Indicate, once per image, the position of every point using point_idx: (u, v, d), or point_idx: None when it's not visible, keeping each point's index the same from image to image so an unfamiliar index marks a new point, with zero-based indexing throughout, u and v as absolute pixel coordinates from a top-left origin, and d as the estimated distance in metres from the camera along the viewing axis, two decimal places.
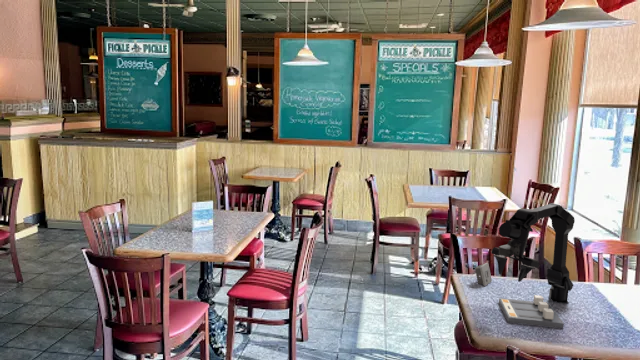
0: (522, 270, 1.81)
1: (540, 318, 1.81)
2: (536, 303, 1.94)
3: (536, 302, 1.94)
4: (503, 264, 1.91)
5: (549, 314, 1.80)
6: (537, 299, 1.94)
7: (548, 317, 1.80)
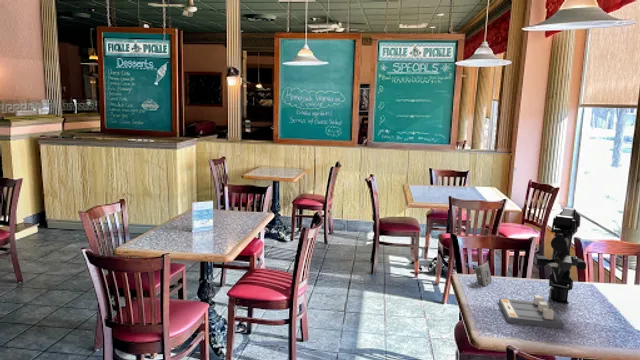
0: (563, 272, 1.90)
1: (540, 318, 1.81)
2: (536, 303, 1.94)
3: (536, 302, 1.94)
4: None
5: (549, 314, 1.80)
6: (537, 299, 1.94)
7: (548, 317, 1.80)
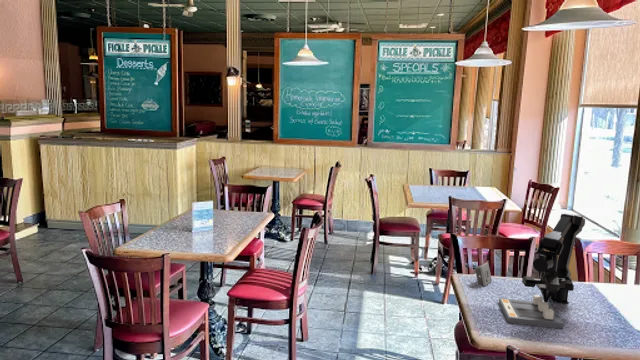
0: (550, 293, 1.92)
1: (540, 318, 1.81)
2: (535, 303, 1.94)
3: (535, 302, 1.94)
4: None
5: (549, 314, 1.80)
6: (536, 299, 1.94)
7: (548, 317, 1.80)
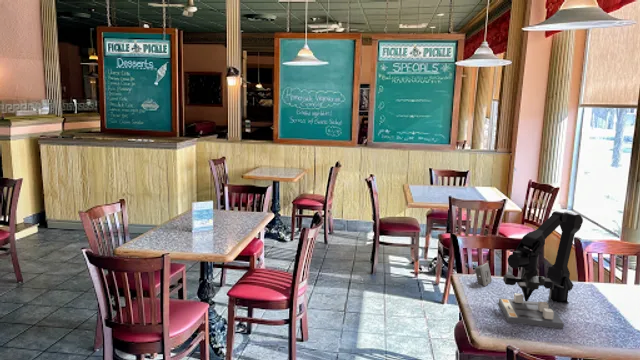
0: (531, 291, 1.94)
1: (540, 318, 1.81)
2: (516, 301, 1.95)
3: (516, 300, 1.95)
4: None
5: (549, 314, 1.80)
6: (517, 297, 1.95)
7: (548, 317, 1.80)
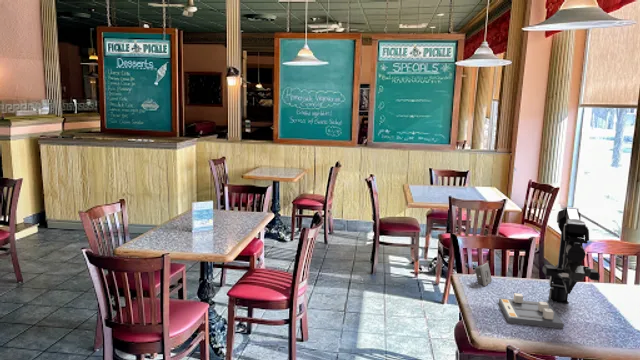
0: (574, 283, 1.77)
1: (540, 318, 1.81)
2: (516, 301, 1.95)
3: (516, 300, 1.95)
4: None
5: (549, 314, 1.80)
6: (517, 297, 1.95)
7: (548, 317, 1.80)
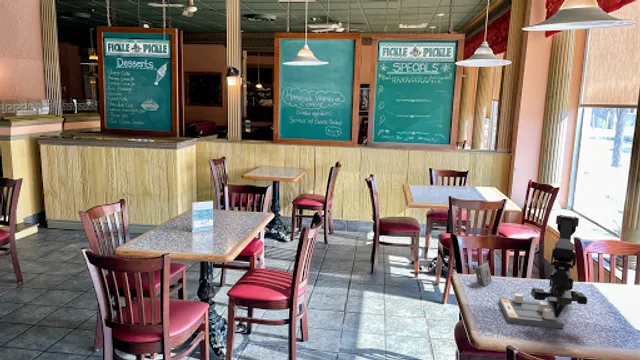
0: (562, 307, 1.79)
1: (540, 318, 1.81)
2: (516, 301, 1.95)
3: (516, 300, 1.95)
4: None
5: (549, 314, 1.80)
6: (517, 297, 1.95)
7: (548, 317, 1.80)
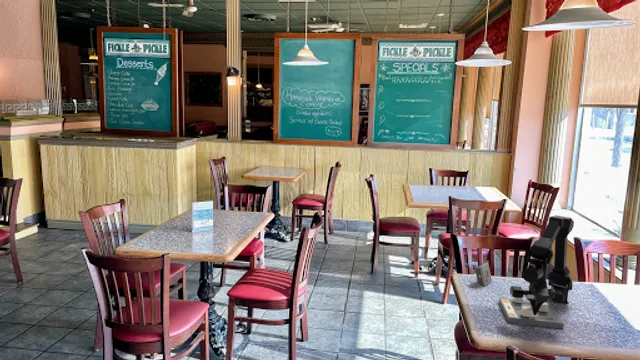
0: (540, 304, 1.80)
1: (540, 318, 1.81)
2: (516, 301, 1.95)
3: (516, 300, 1.95)
4: None
5: (527, 312, 1.81)
6: None
7: (526, 315, 1.82)
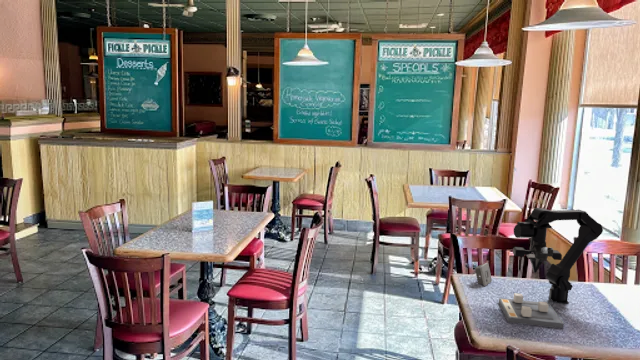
0: (540, 263, 2.00)
1: (540, 318, 1.81)
2: (516, 301, 1.95)
3: (516, 300, 1.95)
4: None
5: (527, 312, 1.81)
6: (517, 297, 1.95)
7: (526, 315, 1.82)
